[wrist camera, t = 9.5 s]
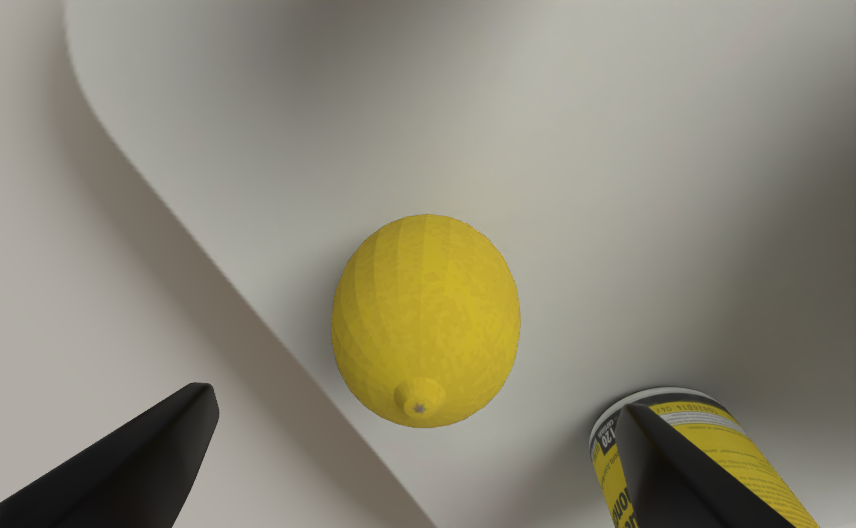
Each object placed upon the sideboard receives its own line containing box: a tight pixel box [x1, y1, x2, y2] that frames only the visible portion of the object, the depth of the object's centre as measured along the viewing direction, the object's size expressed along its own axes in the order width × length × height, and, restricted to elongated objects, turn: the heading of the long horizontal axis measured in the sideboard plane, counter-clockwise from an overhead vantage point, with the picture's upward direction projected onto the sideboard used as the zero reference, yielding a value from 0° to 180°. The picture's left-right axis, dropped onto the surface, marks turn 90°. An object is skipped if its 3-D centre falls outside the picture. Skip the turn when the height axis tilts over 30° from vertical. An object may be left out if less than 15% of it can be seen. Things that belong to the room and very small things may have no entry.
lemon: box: [331, 214, 521, 428], centre depth 13 cm, size 6×6×8 cm
